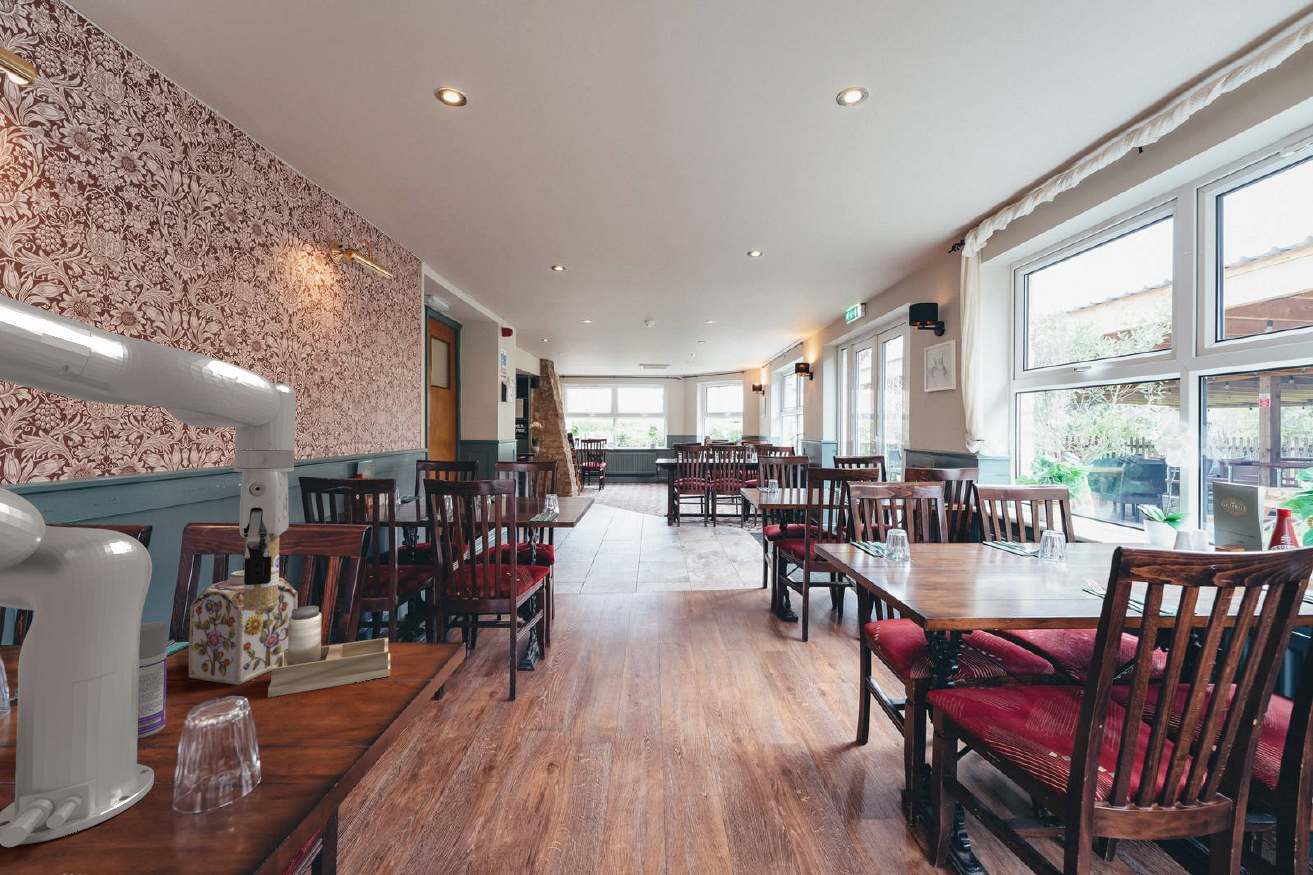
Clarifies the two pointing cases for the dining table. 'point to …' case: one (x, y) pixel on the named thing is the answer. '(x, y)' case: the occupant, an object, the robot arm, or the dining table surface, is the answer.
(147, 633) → the container
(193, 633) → the decorative jar
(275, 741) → the dining table surface
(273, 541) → the sprinkles bottle
